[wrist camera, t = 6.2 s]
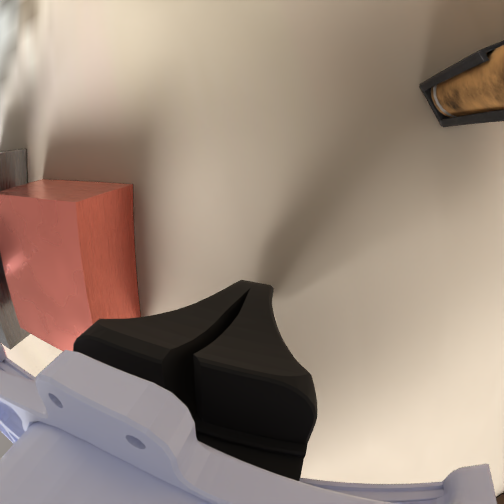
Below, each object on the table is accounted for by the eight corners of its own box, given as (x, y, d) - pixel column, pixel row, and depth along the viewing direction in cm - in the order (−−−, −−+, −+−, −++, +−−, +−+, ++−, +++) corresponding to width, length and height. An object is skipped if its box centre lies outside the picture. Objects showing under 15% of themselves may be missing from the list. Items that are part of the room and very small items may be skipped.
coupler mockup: (123, 349, 17) (66, 412, 12) (21, 304, 19) (-30, 340, 14) (105, 142, 13) (1, 158, 7) (-2, 152, 15) (-70, 169, 9)
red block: (142, 329, 16) (104, 370, 13) (58, 299, 17) (20, 327, 14) (132, 184, 13) (75, 202, 10) (42, 179, 14) (-9, 194, 11)
